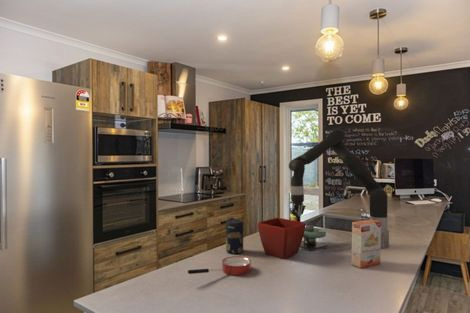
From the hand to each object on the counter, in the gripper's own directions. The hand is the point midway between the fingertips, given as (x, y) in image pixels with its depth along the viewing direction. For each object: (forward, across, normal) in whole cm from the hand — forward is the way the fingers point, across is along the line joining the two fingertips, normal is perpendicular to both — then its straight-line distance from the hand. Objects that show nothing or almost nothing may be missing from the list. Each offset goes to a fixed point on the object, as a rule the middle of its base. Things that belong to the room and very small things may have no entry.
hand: (298, 222), depth 183 cm
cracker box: (+14, +5, +42) cm, 45 cm away
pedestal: (+13, -1, +7) cm, 15 cm away
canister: (+12, +38, -16) cm, 43 cm away
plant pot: (+12, +22, +4) cm, 26 cm away
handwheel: (+6, -1, +7) cm, 9 cm away
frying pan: (+11, +65, +5) cm, 66 cm away
